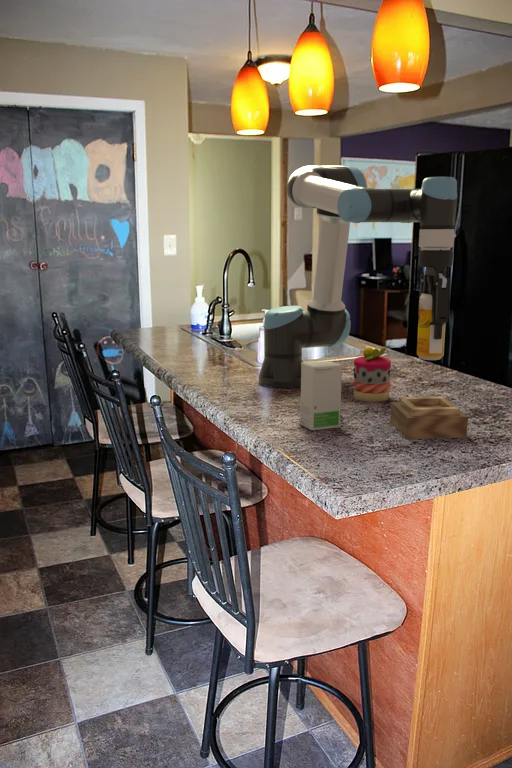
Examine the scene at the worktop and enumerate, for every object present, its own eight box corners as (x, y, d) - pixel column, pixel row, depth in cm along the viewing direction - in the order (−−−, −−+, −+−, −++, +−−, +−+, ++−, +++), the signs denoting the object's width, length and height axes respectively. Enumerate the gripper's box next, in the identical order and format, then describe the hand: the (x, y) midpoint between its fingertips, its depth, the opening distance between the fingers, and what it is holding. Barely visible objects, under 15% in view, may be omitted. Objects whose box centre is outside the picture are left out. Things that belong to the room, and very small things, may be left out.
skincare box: (311, 431, 156) (312, 367, 152) (298, 424, 162) (299, 362, 158) (341, 427, 159) (343, 364, 156) (328, 420, 165) (329, 359, 162)
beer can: (414, 355, 157) (417, 292, 153) (440, 355, 156) (443, 292, 153) (419, 360, 151) (422, 294, 147) (446, 360, 150) (450, 294, 147)
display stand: (406, 439, 150) (408, 411, 149) (390, 421, 164) (391, 396, 162) (466, 437, 151) (468, 410, 150) (445, 420, 165) (446, 394, 163)
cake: (345, 397, 186) (346, 345, 183) (364, 390, 194) (366, 340, 191) (378, 404, 180) (380, 350, 176) (396, 396, 188) (399, 344, 184)
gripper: (468, 250, 139) (461, 357, 144) (438, 247, 157) (432, 343, 163) (433, 250, 138) (427, 358, 144) (407, 248, 157) (403, 343, 162)
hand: (430, 350), depth 153 cm, fingers closed on beer can, 6 cm apart
